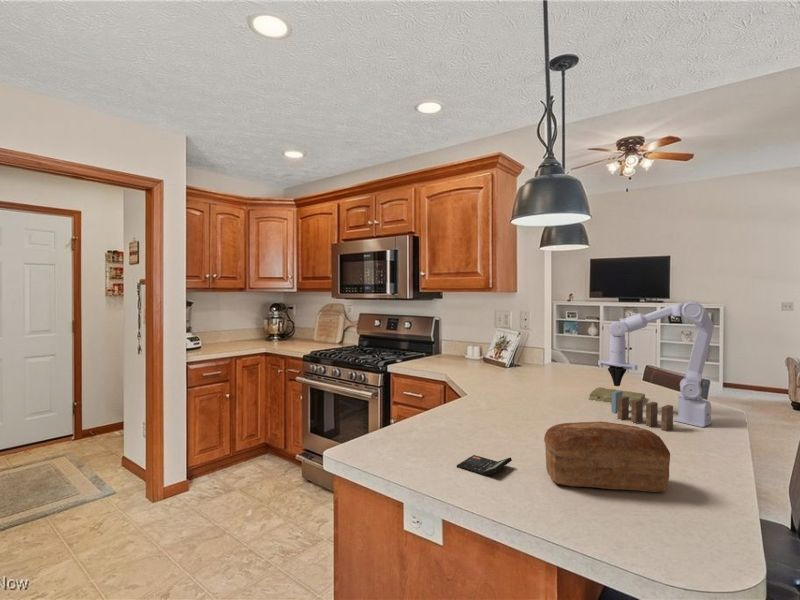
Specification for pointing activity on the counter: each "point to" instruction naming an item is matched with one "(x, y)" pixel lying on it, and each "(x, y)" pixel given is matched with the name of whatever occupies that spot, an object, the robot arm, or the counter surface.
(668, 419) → the domino
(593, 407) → the counter surface
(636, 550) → the counter surface
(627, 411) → the domino
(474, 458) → the calculator
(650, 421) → the domino
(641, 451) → the bread
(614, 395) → the domino
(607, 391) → the decorative tile
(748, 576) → the counter surface
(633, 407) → the domino
